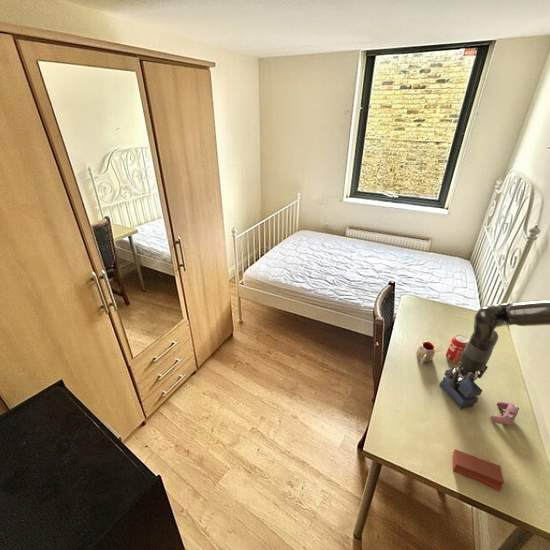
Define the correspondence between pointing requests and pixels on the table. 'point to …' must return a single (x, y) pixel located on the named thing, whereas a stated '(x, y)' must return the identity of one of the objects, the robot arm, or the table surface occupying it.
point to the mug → (426, 352)
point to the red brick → (478, 469)
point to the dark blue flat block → (466, 386)
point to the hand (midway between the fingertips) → (460, 386)
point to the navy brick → (457, 395)
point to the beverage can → (456, 348)
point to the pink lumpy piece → (506, 413)
